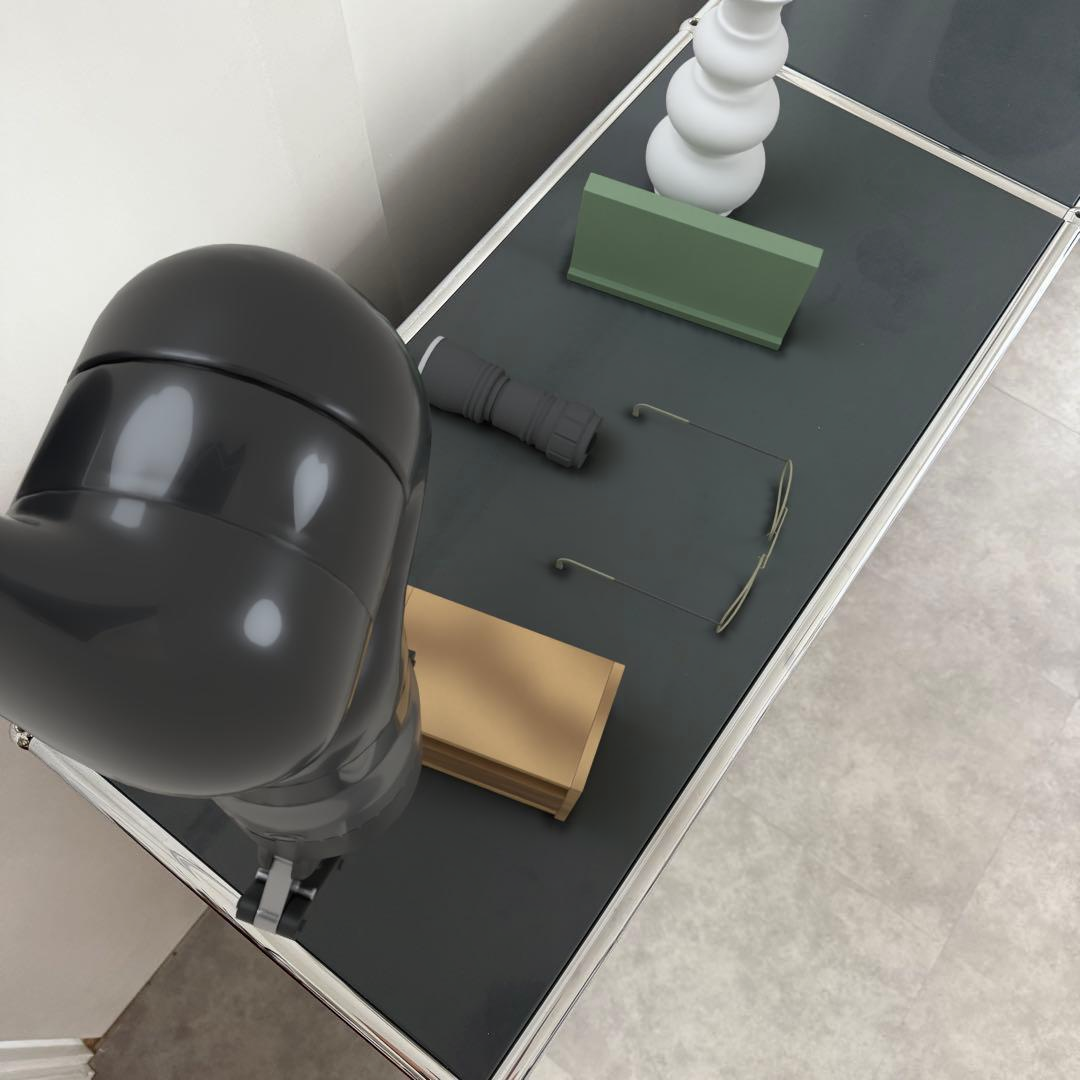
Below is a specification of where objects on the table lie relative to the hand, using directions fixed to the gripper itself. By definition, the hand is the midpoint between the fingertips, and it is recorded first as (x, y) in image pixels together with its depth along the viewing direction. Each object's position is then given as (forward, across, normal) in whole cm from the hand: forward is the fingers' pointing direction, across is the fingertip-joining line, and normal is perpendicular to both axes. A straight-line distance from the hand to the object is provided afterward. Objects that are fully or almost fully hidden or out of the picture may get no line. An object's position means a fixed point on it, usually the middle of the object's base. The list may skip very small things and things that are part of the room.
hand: (346, 816), depth 52 cm
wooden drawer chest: (+27, -13, +3) cm, 30 cm away
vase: (+27, -68, +4) cm, 74 cm away
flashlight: (+27, -38, -4) cm, 47 cm away
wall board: (+27, -56, +6) cm, 62 cm away
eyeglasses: (+27, -34, +12) cm, 46 cm away
